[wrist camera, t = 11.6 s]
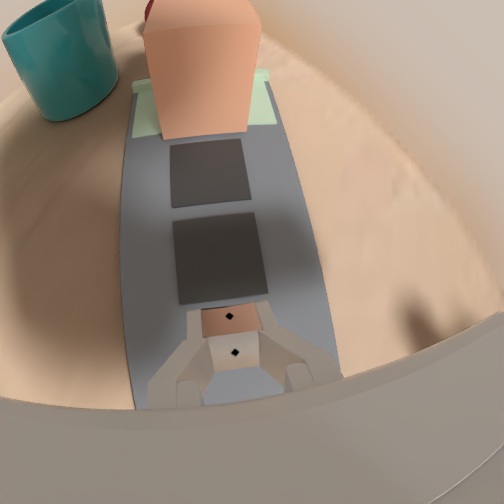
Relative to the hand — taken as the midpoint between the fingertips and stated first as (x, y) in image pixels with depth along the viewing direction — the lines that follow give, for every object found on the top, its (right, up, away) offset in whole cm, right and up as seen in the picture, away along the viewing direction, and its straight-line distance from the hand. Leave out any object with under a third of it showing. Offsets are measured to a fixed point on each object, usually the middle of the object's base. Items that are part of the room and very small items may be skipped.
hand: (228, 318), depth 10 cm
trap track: (-2, +5, +8) cm, 9 cm away
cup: (-17, +20, +11) cm, 28 cm away
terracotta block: (-3, +13, +10) cm, 17 cm away
